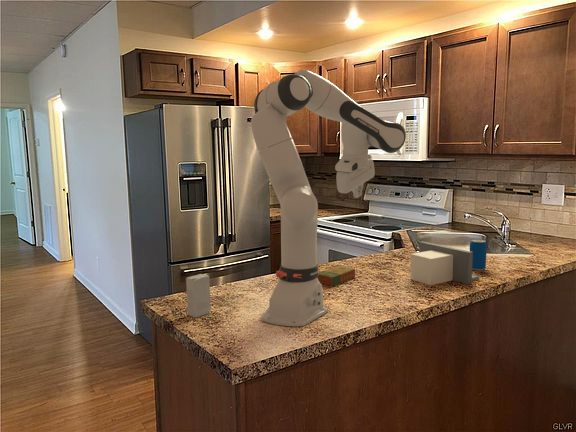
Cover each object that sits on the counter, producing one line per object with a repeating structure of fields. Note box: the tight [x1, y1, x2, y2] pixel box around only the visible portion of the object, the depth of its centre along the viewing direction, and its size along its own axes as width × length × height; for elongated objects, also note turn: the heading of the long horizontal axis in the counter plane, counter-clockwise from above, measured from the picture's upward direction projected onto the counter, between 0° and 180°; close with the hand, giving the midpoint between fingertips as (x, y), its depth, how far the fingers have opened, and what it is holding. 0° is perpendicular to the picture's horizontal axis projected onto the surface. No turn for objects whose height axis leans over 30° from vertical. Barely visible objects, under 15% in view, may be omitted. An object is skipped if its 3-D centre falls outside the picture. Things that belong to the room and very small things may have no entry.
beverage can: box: [469, 238, 488, 271], centre depth 192 cm, size 6×6×12 cm
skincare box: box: [185, 273, 212, 318], centre depth 143 cm, size 6×4×12 cm
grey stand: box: [418, 241, 480, 285], centre depth 183 cm, size 9×24×12 cm, turn 31°
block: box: [410, 250, 453, 286], centre depth 178 cm, size 12×10×10 cm
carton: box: [317, 265, 356, 288], centre depth 179 cm, size 8×16×4 cm, turn 139°
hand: (357, 196), depth 169 cm, fingers closed
